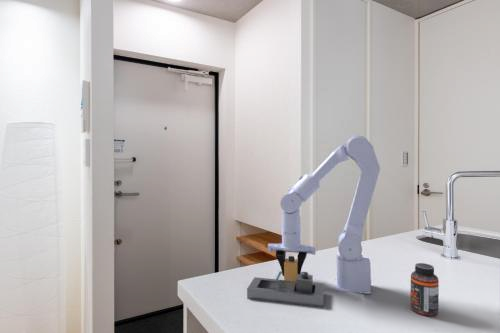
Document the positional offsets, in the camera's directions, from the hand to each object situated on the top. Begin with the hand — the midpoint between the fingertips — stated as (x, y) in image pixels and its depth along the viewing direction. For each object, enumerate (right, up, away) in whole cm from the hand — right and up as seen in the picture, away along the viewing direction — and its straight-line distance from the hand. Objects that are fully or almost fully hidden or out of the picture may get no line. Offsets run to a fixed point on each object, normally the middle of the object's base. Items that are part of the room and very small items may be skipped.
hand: (291, 275), depth 92 cm
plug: (0, -1, 0) cm, 1 cm away
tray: (0, -2, 0) cm, 2 cm away
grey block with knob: (+2, -2, -12) cm, 12 cm away
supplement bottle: (+30, -2, -19) cm, 35 cm away
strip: (-3, -2, -11) cm, 11 cm away
